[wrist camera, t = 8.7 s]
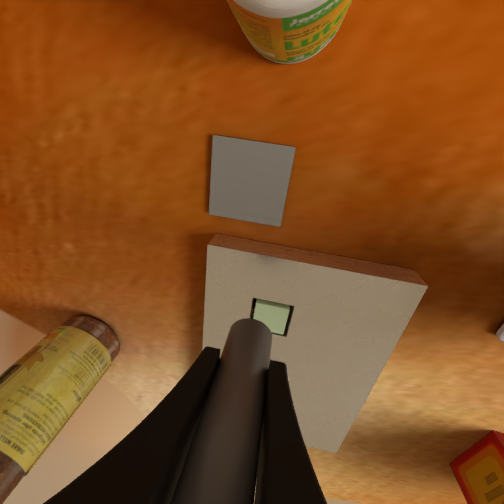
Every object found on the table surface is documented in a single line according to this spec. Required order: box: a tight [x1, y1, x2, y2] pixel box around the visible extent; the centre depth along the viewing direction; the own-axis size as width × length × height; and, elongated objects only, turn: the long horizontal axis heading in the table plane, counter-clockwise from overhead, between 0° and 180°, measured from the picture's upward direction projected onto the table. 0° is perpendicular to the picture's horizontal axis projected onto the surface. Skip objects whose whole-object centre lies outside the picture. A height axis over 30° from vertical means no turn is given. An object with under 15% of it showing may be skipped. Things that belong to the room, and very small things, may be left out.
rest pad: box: [209, 135, 296, 227], centre depth 16 cm, size 5×5×1 cm
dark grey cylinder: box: [171, 318, 272, 504], centre depth 9 cm, size 2×2×8 cm
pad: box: [253, 299, 290, 334], centre depth 19 cm, size 2×2×2 cm
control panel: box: [202, 233, 428, 454], centre depth 21 cm, size 14×20×3 cm
